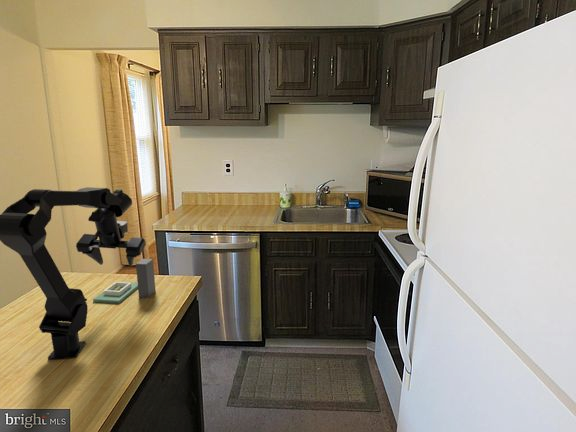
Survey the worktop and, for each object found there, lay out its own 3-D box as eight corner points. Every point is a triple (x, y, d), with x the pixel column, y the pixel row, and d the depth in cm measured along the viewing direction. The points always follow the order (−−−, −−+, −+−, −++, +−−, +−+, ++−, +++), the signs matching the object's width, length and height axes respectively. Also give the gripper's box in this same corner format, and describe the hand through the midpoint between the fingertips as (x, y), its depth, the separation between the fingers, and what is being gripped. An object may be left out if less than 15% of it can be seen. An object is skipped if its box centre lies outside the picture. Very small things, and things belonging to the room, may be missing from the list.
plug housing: (148, 297, 120) (145, 264, 117) (138, 297, 120) (135, 263, 117) (155, 291, 125) (153, 259, 122) (146, 290, 125) (143, 258, 122)
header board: (119, 303, 116) (118, 296, 115) (93, 301, 116) (92, 294, 116) (140, 285, 129) (140, 279, 128) (117, 284, 130) (116, 277, 129)
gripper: (148, 212, 111) (154, 250, 120) (87, 208, 110) (97, 246, 119) (135, 234, 102) (143, 273, 111) (69, 229, 101) (82, 269, 110)
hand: (116, 264), depth 113 cm, fingers open, 9 cm apart
